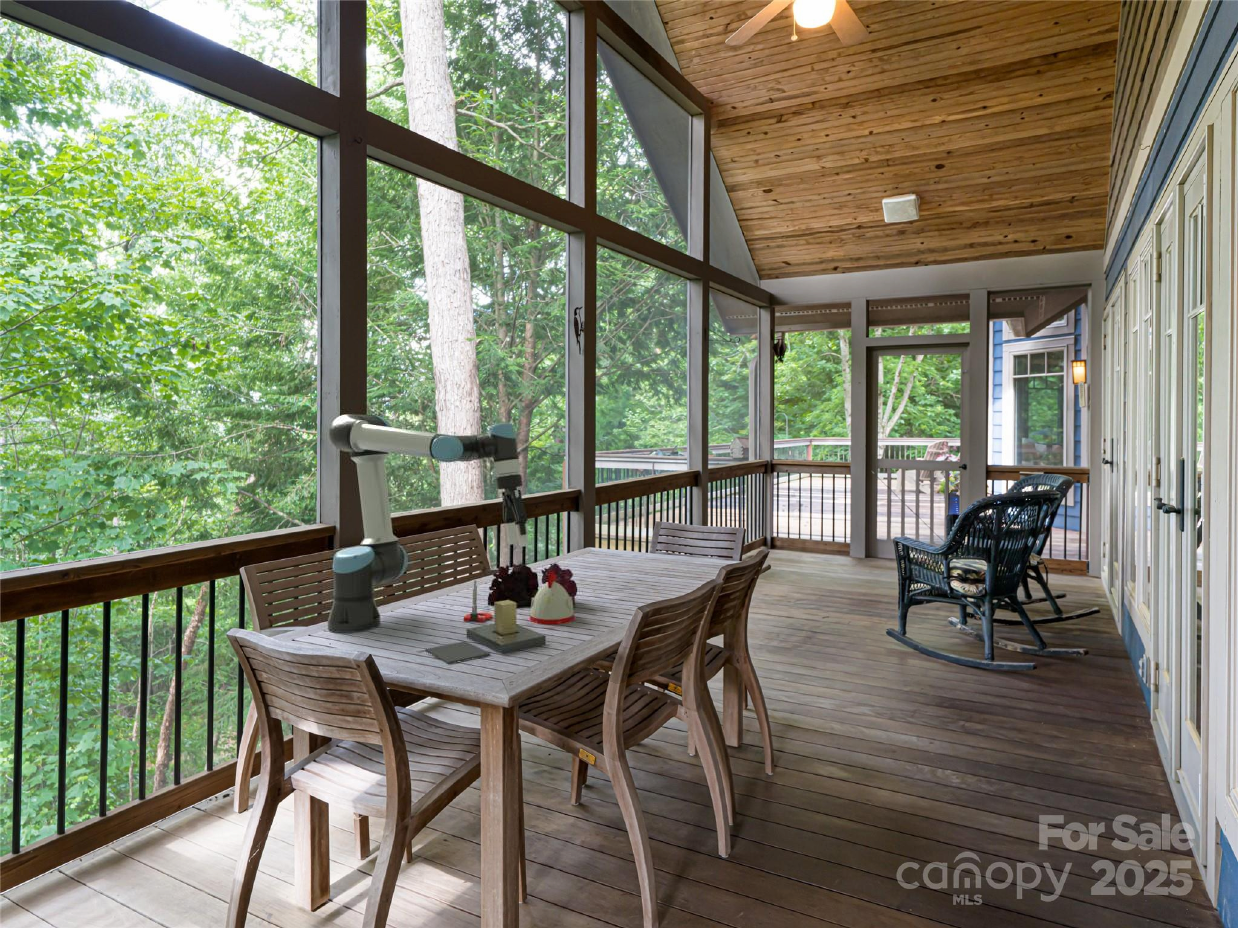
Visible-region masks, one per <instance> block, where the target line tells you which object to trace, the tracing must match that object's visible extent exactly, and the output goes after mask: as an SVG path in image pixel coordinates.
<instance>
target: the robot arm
mask: <svg viewBox="0 0 1238 928" xmlns="http://www.w3.org/2000/svg"><path fill="white" fill-rule="evenodd" d="M488 427H489V428H488V432H485V433H479V434H473V435H468V434H467V435H454V434H453V435H452V434H451V435H450V434H446V433H445V434H443V433H436V432H428V431H420V430H413V429H405V428H398V427H392V424H390V422H389V421H388V420H386V419H385V418H384V417H382V416H379V415H375V414H351V413H350V414H349V413H348V414H341V415H340V416H338V417H336V418H335V419H334V420H333V421H332V422H331V424H330V425H329V429H328V436H329V440H330V442H331V444H332V445H333V446H334V447H335V449H337V450H340V451H343V452H349V454H350V459H351V460H352V461H353V462H355V464H356V471H357V479H358V487H359V489H358V490H359V496H360V497H359V498H360V499H359V500H360V506H361V516H362V524H363V532H364V533H363V535H364V538H363V539H362V541H361V542H360V545H359V546H357V545H356V546H353V547H347V548H343V549H341V550H338V551H337V552H336V553H335V554H334V555H333V559H332V560H333V561H332V580H333V583H332V584H333V585H332V586H333V588H332V589H333V593H332V594H333V604H332V606H331V609H330V613H329V616H328V619H327V629H328V630H329V631H331V632H336V633H356V632H358V633H359V632H363V631H369V630H372V629H373V630H374V629H375V628H378V627H379V626H380V625H382V624H381V622H382V621H381V615H380V611H379V609H378V607H377V603H376V600H375V587H376V586H378V585H383V584H385V583H391V582H392V581H394V580H396V579H398V578H400V577H402V575H403V574H404V573H405V571H406V569H407V567H408V558H409V557H408V554H407V551H406V550H405V549H404V548H403V546H401V545H400V544H399V538H398V537H397V536H396V535H394V533H393V524H392V517H391V507H390V499H389V498H390V497H389V489H388V480H387V478H388V477H387V471H386V470H387V469H386V459H387V458H388V457H389V455H390V454H397V455H404V456H410V457H417V458H424V459H431V460H432V459H433V460H436V461H438V462H442V463H454V462H460V463H461V462H462V463H464V462H468V463H469V462H474V461H478V460H482V459H485V460H486V459H490V458H491V459H493V468H494V475H495V476H497V477H496V479H495V480H496V486H497V489H498V490H504V491H501V497H502V521H504V523H505V528H506V536H507V542H508V543H507V544H508V546H511V545H516V544H518V545H519V548H523V547H528V546H530V542H529V537H528V527H527V522H528V521H529V518H528V516H527V513H526V508H525V505H524V500H523V498H522V490H521V489H517V488H519V487H522V486H523V478H522V475H521V466H522V462H521V461H520V460H519V459H520V457H519V451H518V445H517V436H516V432H515V426H514V425H513V424H512V423H510V422H504V423H496V424H492V425H489V426H488ZM519 473H520V474H519Z"/></svg>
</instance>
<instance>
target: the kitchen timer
mask: <svg viewBox="0 0 1238 928" xmlns="http://www.w3.org/2000/svg"><path fill="white" fill-rule="evenodd" d="M547 580H548V582H547V583H545V584H542V586H540V588H538V590H539V591H538V592H537V594H536V596H535V598H532V602H531V607H530V612H529V620H530V622H532V623H534V624H539V625H555V626H556V625H563V624H568V623H571V622H573V621H574V620H573V619H574V618H575V611H574V607H573V602H572V597H569V595H568V593H567V592H566V590H565V589H564V588H563V587H562V586H561V585H560V584H558V583H556V577H555V574H554V572H551V573H550V574H549V579H547ZM570 621H571V622H570Z"/></svg>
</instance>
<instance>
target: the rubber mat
mask: <svg viewBox="0 0 1238 928" xmlns="http://www.w3.org/2000/svg"><path fill="white" fill-rule="evenodd" d="M425 651H426V652H425ZM424 652H425V653H427V652H428V653H427V654H429V653H430V654H429V655H431V654H432V655H431V656H433V655H434V656H435V657H434V656H433V657H434V658H437V659H438V660H440V661H441V660H442V662H443V661H444V662H443V663H445V662H446V663H445V664H447V665H452V664H455V663H454V662H457V663H459V662H458V661H461V662H465V661H464V660H466V661H468V660H467V659H471V660H473V659H472V658H475V659H479V658H478V657H480V658H483V657H482V656H484V657H489V656H491V652H489V651H486V650H485V649H482V648H481V647H479V646H476V645H474V644H472V643H470V642H469V641H465V640H464V641H459V642H454V643H449V644H444V645H438V646H434V647H428V648H425V649H424ZM451 663H452V664H451Z"/></svg>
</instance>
